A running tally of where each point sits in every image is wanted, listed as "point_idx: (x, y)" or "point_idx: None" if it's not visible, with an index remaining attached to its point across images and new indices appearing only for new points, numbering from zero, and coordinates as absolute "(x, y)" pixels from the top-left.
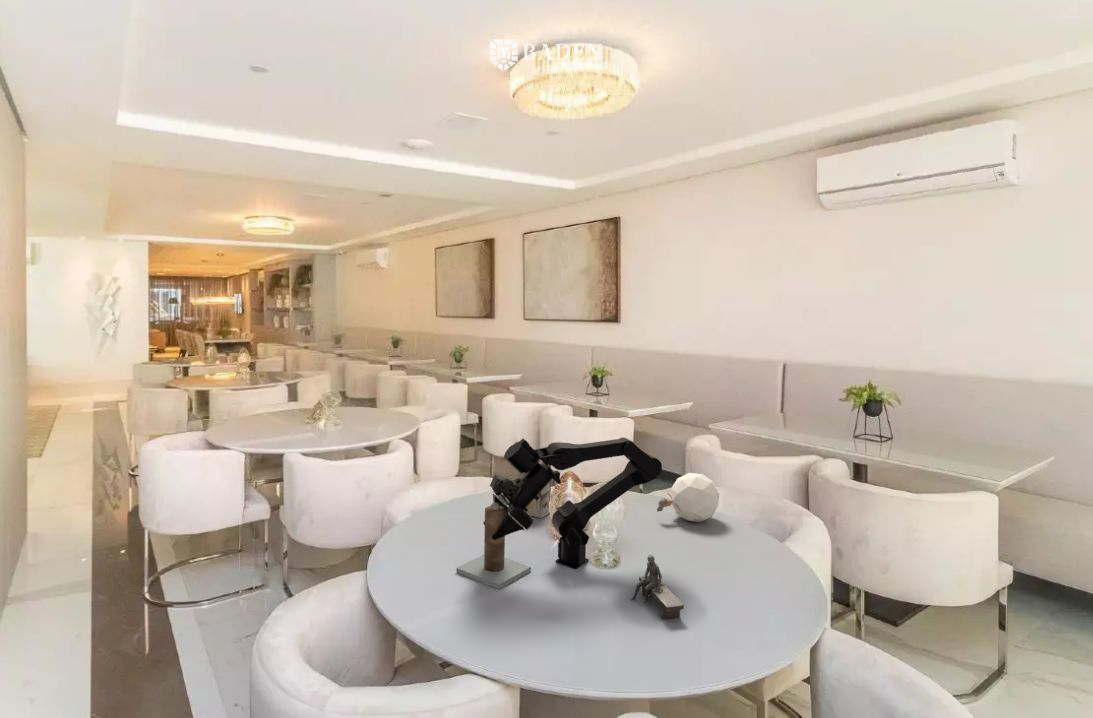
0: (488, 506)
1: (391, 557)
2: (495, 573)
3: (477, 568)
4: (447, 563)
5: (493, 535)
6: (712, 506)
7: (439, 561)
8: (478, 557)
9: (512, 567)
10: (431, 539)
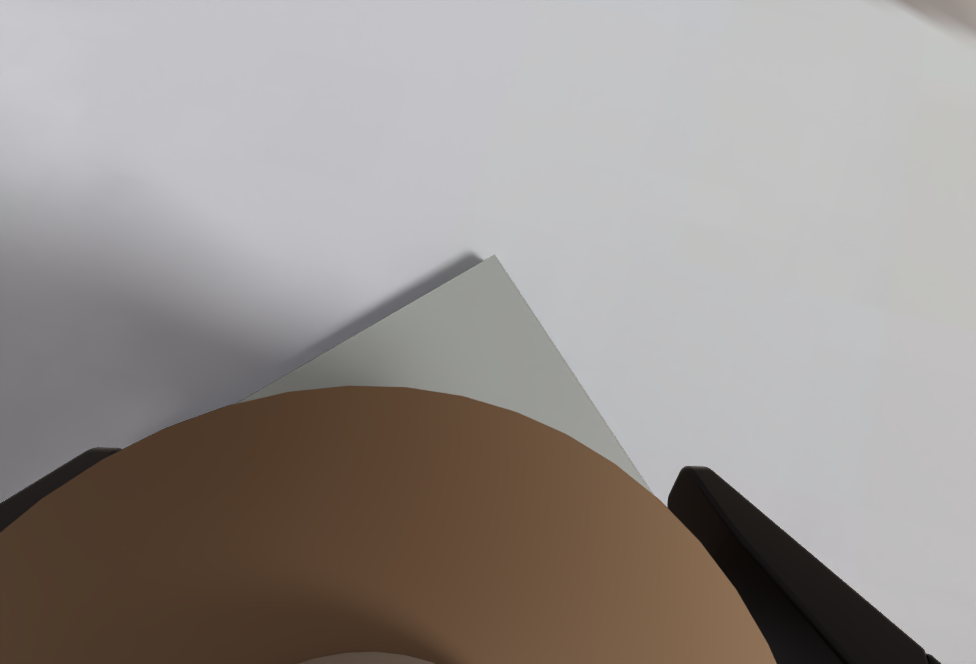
0: (759, 636)
1: (760, 5)
2: None
3: (440, 379)
4: (623, 245)
5: (43, 477)
6: None
7: (660, 210)
8: (606, 429)
9: None
10: (957, 235)
